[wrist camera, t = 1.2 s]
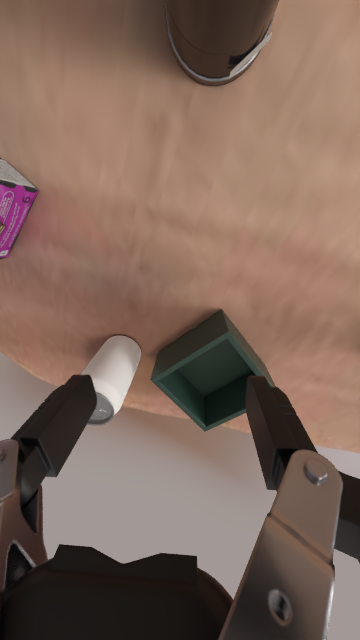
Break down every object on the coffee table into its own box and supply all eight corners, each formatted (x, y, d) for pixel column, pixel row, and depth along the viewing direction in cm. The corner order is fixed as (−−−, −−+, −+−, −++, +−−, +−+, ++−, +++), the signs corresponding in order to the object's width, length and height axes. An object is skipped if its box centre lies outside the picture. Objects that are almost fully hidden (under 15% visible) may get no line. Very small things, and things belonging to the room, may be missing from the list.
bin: (158, 351, 34) (150, 379, 28) (221, 309, 30) (228, 330, 24) (203, 398, 38) (204, 431, 32) (265, 365, 34) (280, 396, 28)
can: (120, 371, 36) (88, 434, 26) (96, 344, 34) (50, 400, 23) (149, 356, 35) (128, 417, 24) (126, 327, 32) (91, 378, 22)
